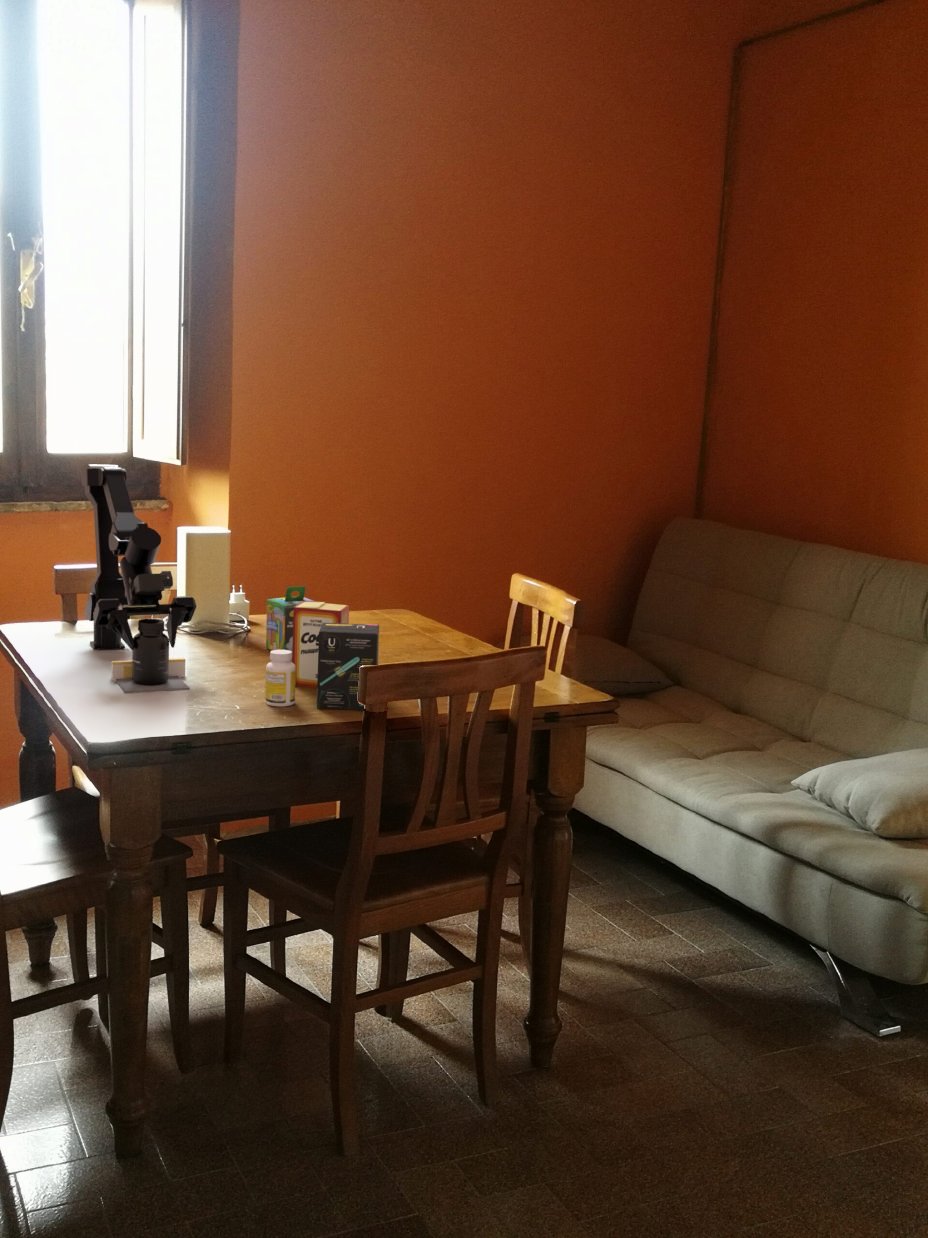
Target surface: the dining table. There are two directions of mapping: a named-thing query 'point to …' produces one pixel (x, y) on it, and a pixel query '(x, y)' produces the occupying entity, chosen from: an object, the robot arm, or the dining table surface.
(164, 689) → the shelf mat
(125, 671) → the rail
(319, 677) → the tampon box
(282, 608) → the chalk box
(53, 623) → the dining table surface
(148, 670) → the supplement bottle
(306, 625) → the baking soda box
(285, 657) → the supplement bottle
